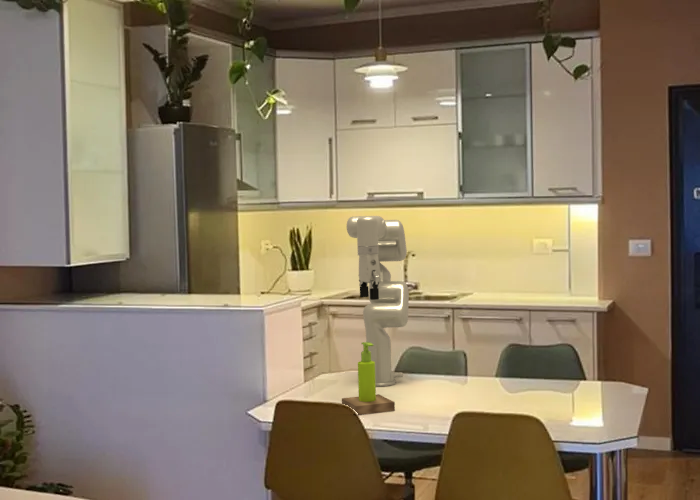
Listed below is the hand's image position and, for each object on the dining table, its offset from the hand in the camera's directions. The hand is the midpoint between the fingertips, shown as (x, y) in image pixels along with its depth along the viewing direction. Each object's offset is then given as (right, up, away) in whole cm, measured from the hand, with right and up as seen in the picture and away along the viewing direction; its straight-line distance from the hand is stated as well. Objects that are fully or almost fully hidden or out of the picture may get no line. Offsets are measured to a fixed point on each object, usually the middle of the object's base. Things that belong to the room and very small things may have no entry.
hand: (369, 298), depth 325 cm
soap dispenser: (-1, -34, -16) cm, 38 cm away
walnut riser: (-1, -37, -16) cm, 40 cm away
